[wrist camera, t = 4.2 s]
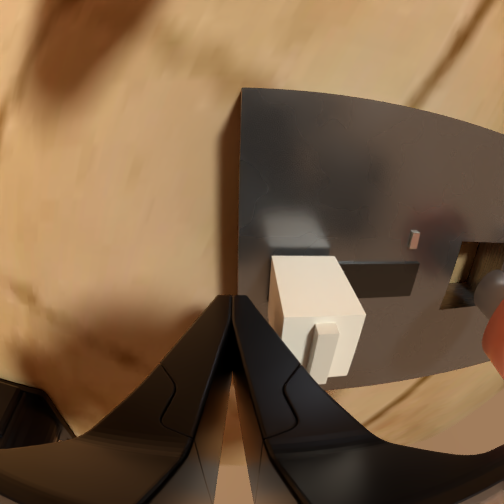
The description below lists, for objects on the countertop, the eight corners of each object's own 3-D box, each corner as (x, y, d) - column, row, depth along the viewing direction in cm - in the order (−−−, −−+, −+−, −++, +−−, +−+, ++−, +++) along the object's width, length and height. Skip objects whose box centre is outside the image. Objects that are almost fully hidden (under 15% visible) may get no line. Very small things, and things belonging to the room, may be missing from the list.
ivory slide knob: (324, 312, 11) (350, 386, 8) (267, 313, 11) (277, 391, 8) (334, 256, 10) (371, 324, 7) (271, 255, 10) (286, 328, 7)
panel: (520, 329, 16) (535, 347, 14) (237, 362, 15) (237, 396, 13) (575, 167, 11) (598, 178, 9) (241, 90, 10) (242, 87, 8)
